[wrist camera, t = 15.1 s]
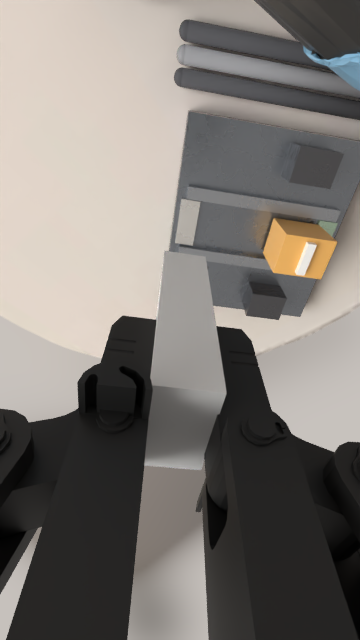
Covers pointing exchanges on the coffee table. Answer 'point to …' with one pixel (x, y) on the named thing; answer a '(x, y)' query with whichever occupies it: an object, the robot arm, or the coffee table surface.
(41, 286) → the coffee table surface
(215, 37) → the grey cylinders
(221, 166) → the panel
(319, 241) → the slider
